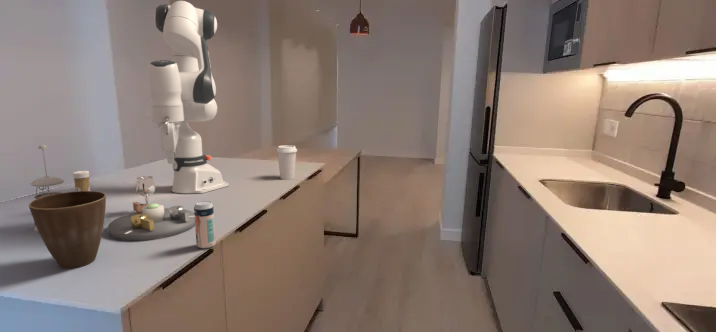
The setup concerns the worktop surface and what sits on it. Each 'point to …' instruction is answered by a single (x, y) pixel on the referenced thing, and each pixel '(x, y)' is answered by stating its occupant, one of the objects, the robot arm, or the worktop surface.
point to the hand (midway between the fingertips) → (172, 160)
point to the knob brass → (141, 222)
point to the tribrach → (162, 225)
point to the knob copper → (138, 207)
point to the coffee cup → (287, 161)
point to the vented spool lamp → (45, 182)
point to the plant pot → (71, 225)
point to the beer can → (204, 224)
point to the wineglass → (145, 186)
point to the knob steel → (179, 213)
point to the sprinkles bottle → (81, 181)
